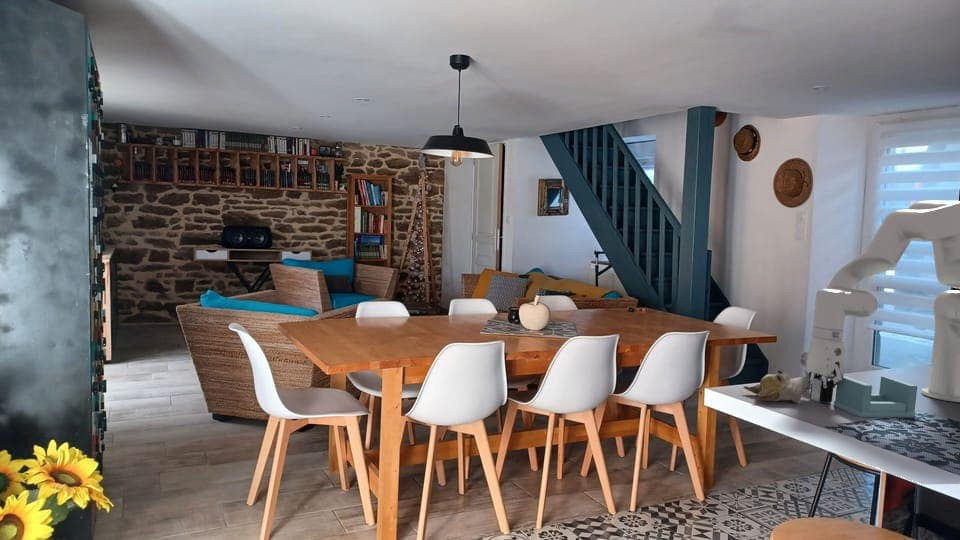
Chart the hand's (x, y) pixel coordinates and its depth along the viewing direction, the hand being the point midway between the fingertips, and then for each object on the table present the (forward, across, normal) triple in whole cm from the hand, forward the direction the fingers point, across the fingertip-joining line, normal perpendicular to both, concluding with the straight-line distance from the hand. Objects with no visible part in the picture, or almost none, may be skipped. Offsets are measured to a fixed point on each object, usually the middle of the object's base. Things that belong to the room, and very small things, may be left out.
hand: (820, 399), depth 186 cm
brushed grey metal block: (+1, 0, 0) cm, 1 cm away
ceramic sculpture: (+1, 0, +13) cm, 13 cm away
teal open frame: (+1, -9, -9) cm, 13 cm away
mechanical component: (+1, +14, -6) cm, 15 cm away
